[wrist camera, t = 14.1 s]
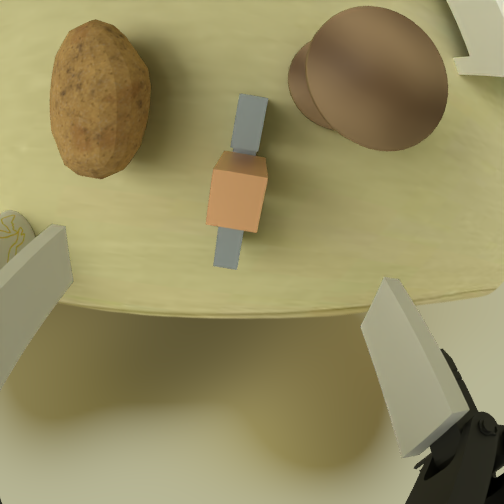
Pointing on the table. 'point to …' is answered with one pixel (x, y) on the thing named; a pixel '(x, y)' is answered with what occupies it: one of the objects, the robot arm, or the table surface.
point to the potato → (98, 100)
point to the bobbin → (371, 79)
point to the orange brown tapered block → (237, 191)
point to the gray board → (246, 143)
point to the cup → (13, 235)
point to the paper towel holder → (480, 36)
